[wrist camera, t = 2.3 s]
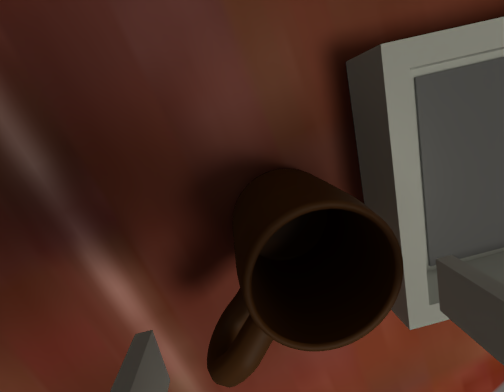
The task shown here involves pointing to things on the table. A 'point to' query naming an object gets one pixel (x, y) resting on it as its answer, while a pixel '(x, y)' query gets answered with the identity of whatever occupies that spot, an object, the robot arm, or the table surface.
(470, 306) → the robot arm
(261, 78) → the table surface
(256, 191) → the mug
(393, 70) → the tray
